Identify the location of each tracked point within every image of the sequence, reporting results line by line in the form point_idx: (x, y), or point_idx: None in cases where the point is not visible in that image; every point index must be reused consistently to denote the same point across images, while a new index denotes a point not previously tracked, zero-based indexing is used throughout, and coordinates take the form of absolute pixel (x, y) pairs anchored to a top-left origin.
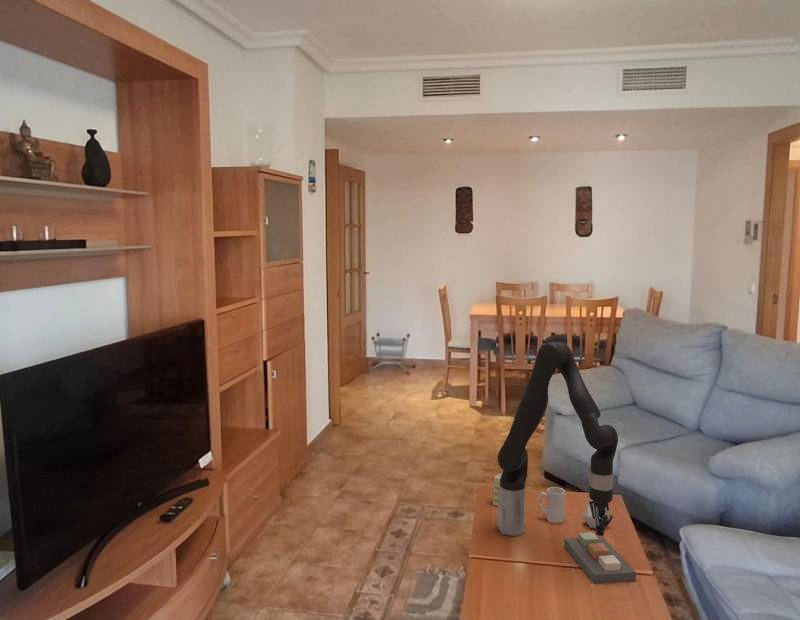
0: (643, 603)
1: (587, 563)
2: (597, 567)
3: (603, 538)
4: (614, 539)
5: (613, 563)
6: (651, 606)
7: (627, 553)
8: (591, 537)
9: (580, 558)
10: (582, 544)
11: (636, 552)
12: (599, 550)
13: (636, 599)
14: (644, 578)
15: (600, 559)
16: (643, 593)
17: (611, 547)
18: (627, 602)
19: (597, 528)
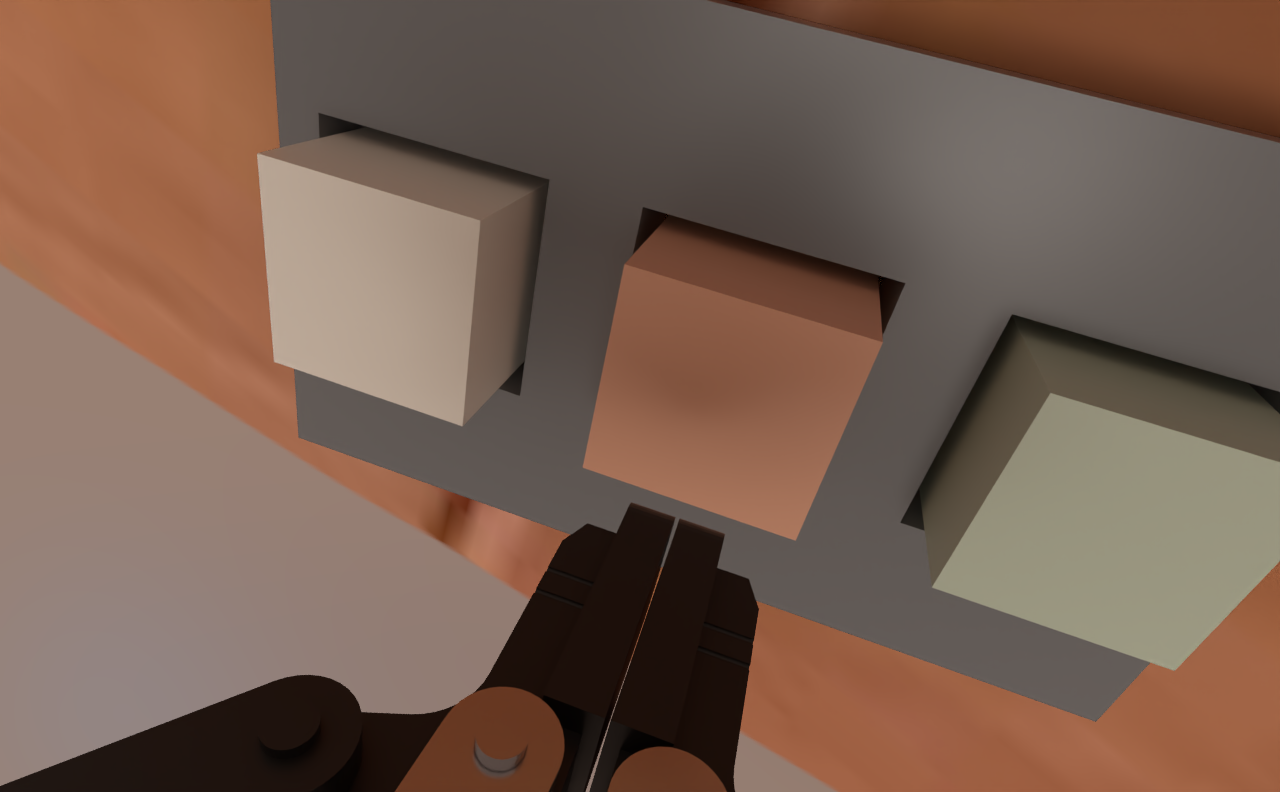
0: (44, 191)
1: (566, 17)
2: (433, 94)
3: (1039, 692)
4: (1061, 782)
5: (269, 270)
6: (14, 221)
7: (777, 673)
8: (1039, 542)
9: (750, 11)
10: (1101, 360)
11: (757, 732)
12: (623, 351)
13: (93, 178)
14: (385, 481)
15: (435, 197)
16: (181, 305)
17: (805, 605)
18: (37, 54)
19: (594, 623)
